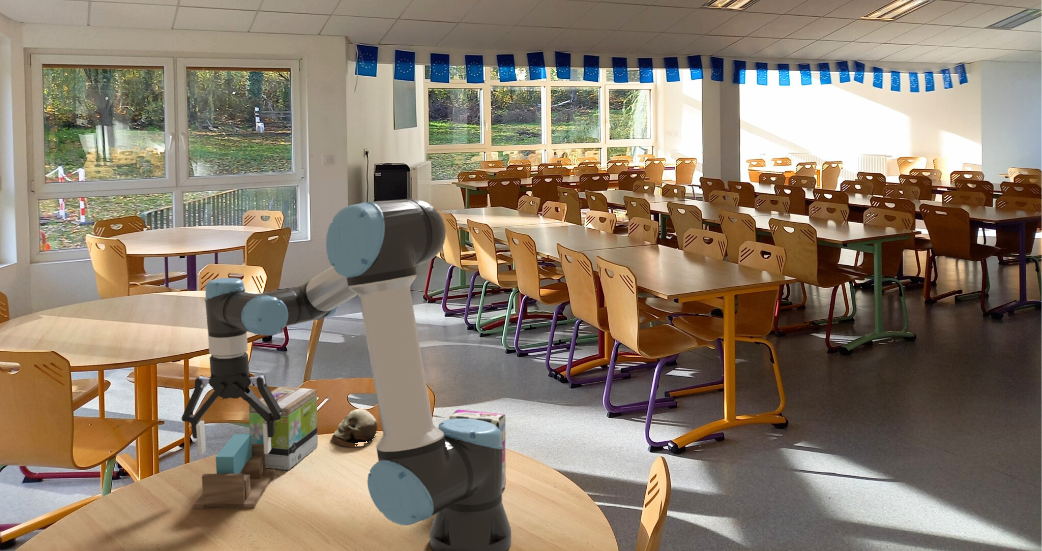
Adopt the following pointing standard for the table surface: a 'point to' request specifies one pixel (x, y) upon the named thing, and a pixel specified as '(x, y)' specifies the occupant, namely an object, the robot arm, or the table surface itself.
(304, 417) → the tea box
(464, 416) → the candy bar box
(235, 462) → the long teal rectangular block
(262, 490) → the cradle
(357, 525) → the table surface
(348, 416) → the skull
